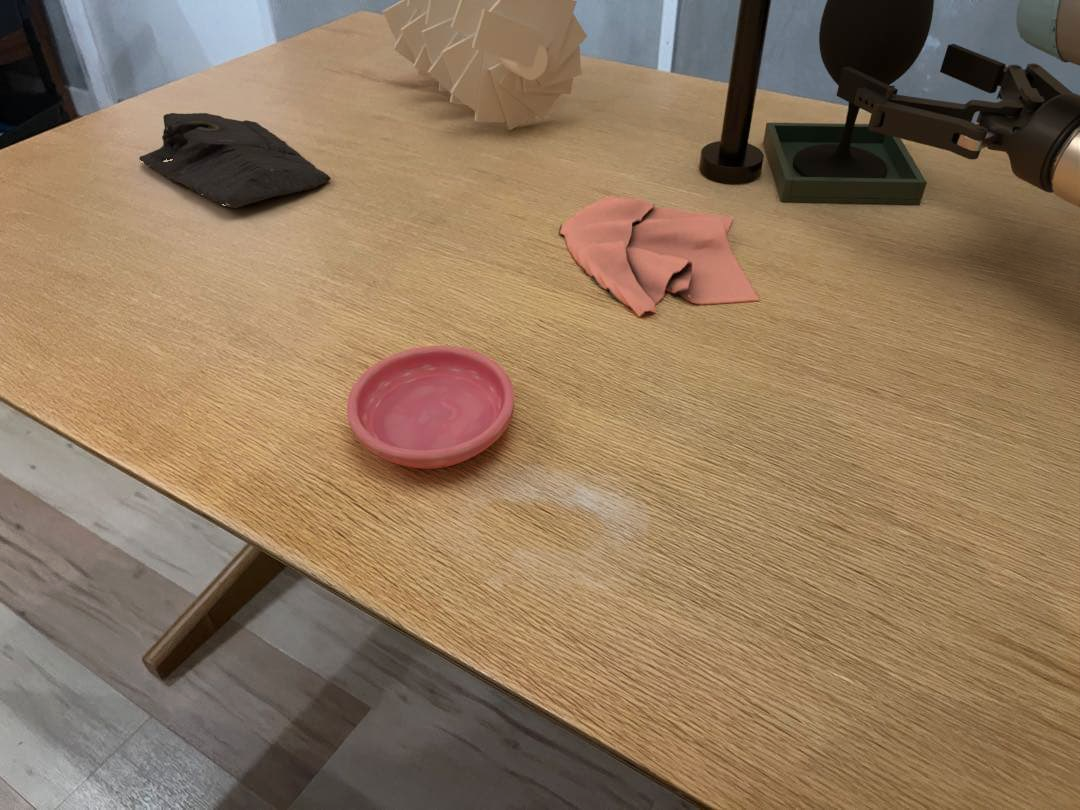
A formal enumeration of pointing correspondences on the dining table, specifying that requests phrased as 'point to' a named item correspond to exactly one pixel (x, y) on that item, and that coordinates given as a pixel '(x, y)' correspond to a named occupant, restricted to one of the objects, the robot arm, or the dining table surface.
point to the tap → (740, 103)
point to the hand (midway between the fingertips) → (895, 69)
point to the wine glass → (864, 70)
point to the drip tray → (792, 187)
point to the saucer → (431, 406)
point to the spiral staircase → (492, 52)
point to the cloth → (656, 253)
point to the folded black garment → (230, 160)
